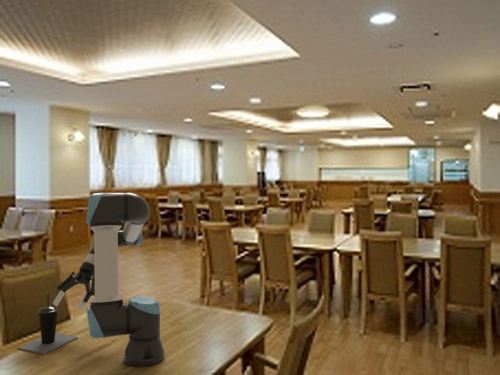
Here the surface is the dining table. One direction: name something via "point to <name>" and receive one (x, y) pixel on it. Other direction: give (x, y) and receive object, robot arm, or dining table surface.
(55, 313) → the drinking cup
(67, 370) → the dining table surface
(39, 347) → the placemat
